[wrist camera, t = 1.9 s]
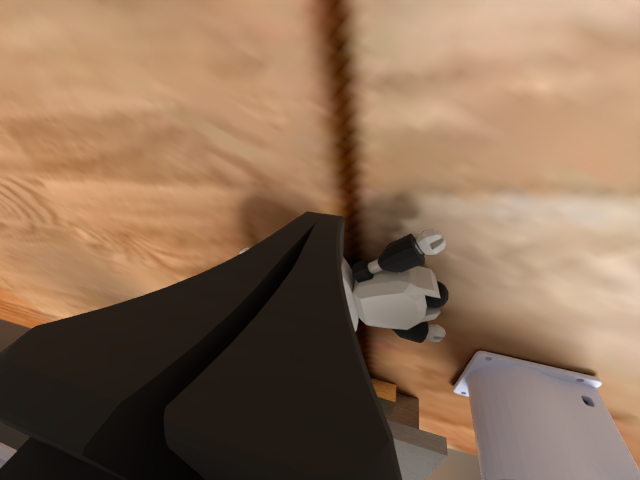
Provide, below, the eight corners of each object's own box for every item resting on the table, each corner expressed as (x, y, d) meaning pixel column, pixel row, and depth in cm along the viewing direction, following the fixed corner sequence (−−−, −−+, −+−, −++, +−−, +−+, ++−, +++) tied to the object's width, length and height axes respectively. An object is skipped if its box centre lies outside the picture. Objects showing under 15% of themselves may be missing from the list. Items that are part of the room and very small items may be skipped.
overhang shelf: (439, 357, 26) (447, 455, 20) (416, 403, 33) (417, 487, 27) (267, 315, 31) (230, 385, 24) (278, 363, 37) (250, 428, 31)
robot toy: (441, 201, 18) (253, 224, 23) (455, 238, 14) (228, 257, 19) (442, 317, 24) (295, 316, 29) (451, 363, 21) (282, 354, 26)
